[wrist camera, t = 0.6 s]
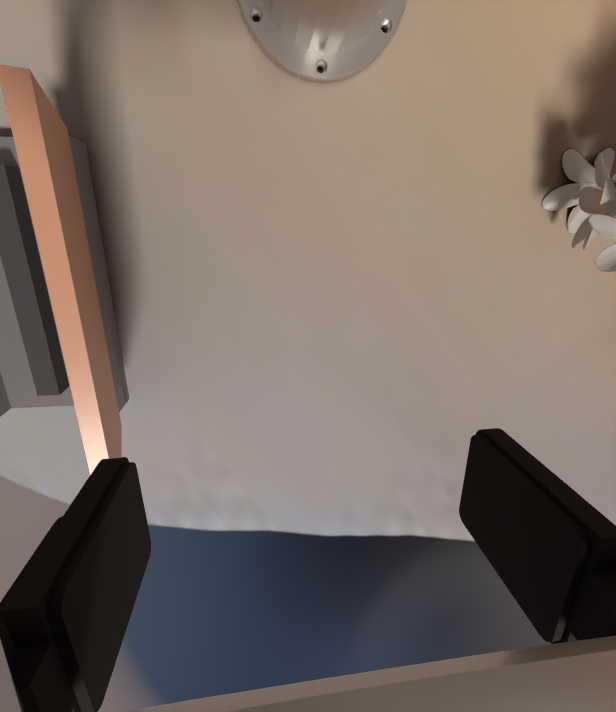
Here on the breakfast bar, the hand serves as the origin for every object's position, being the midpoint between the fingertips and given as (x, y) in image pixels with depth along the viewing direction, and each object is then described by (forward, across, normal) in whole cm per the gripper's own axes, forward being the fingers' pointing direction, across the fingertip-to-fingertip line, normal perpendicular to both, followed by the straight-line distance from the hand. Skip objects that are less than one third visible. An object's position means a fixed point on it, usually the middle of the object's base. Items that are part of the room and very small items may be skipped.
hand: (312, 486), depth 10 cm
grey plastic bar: (+26, +20, -2) cm, 33 cm away
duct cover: (+15, +12, -2) cm, 20 cm away
